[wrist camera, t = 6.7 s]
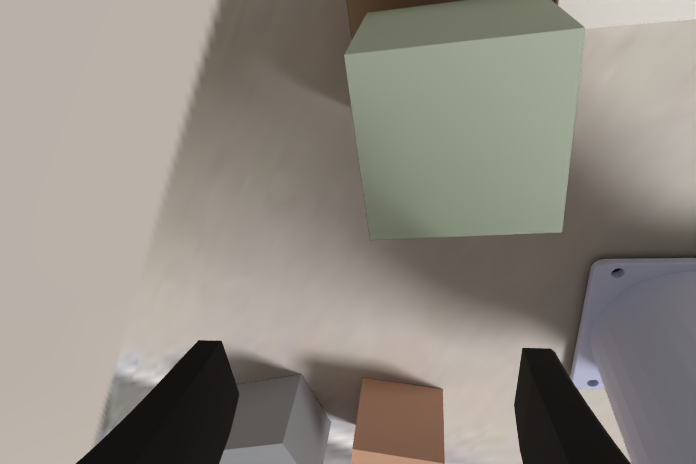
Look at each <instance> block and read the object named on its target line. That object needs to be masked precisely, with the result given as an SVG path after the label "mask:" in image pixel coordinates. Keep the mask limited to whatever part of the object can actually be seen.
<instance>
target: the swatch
mask: <svg viewBox="0 0 696 464" xmlns="http://www.w3.org/2000/svg"><path fill="white" fill-rule="evenodd" d="M556 4H557V5H558V6H559V7H560V8H562V9H563V10H564V11H565V12H567V13H568V14H569V15H570V16H572V17H573V18H574V19H575V20H576V21H578V22H579V23H580V24H581V25H583V26H584V27H585V29H589V28H600V27H611V26H622V25H634V24H645V23H656V22H667V21H678V20H690V19H696V0H557V1H556Z"/></svg>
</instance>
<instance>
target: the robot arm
mask: <svg viewBox="0 0 696 464" xmlns="http://www.w3.org/2000/svg"><path fill="white" fill-rule="evenodd" d="M617 268H621V270H619V271H618V272H612V271H613V270H615V269H617ZM593 379H594V380H593ZM577 388H580V389H605V390H606V393H607V396H608V398H609V401H610V404H611V407H612V410H613V412H614V415H615V418H616V421H617V423H618V426H619V429H620V432H621V435H622V437H623V440H624V443H625V446H626V449H627V451H628V454H629V457H630V460H631V462H632V464H696V258H644V259H601V260H598V261H596V262H595V263H594V264H593V265H592V266H591V269H590V274H589V279H588V285H587V290H586V295H585V301H584V306H583V311H582V316H581V322H580V327H579V332H578V338H577V343H576V348H575V353H574V359H573V364H572V369H571V375H570V377H569V375H568V374H567V372H566V370H565V369H564V367H563V365H562V364H561V362H560V360H559V358H558V357H557V355H556V353H555V352H554V351H553V350H552V349H542V348H522V355H521V362H520V369H519V376H518V383H517V390H516V397H515V404H514V407H515V416H516V424H517V432H518V439H519V446H520V452H521V456H522V461H523V464H631V463H630V462H629V461H628V460H627V458H626V457H625V456H624V454H623V453H622V452H621V450H620V449H619V448H618V446H617V445H616V444H615V443H614V441H613V440H612V438H611V437H610V436H609V434H608V433H607V431H606V430H605V429H604V427H603V426H602V425H601V423H600V422H599V420H598V419H597V418H596V416H595V415H594V413H593V412H592V410H591V409H590V407H589V406H588V405H587V403H586V402H585V400H584V399H583V397H582V395H581V394H580V392H579V391H578V389H577ZM238 399H239V391H238V388H237V385H236V382H235V379H234V376H233V373H232V370H231V367H230V364H229V361H228V358H227V355H226V352H225V349H224V347H223V344H222V341H203V340H199V341H198V342H197V343H196V344H195V345H194V346H193V347H192V348H191V349H190V350H189V351H188V352H187V353H186V354H185V355H184V356H183V357H182V359H181V360H180V361H179V362H178V363H177V364H176V365H175V366H174V367H173V368H172V369H171V370H170V371H169V373H168V374H167V375H166V376H165V377H164V378H163V379H162V380H161V381H160V382H159V383H158V384H157V385H156V386H155V388H154V389H153V390H152V391H151V392H150V393H149V394H148V395H147V396H146V397H145V398H144V399H143V400H142V401H141V402H140V403H139V404H138V405H137V406H136V407H135V408H134V409H133V410H132V411H131V412H130V413H129V414H128V415H127V416H126V417H125V418H124V419H123V420H122V421H121V422H120V423H119V424H118V425H117V426H116V427H115V428H114V429H113V430H112V431H111V432H110V433H109V434H108V435H107V436H106V437H105V438H104V439H102V440H101V441H100V442H99V443H98V444H97V445H96V446H95V447H94V448H93V449H92V450H91V451H90V452H88V453H87V454H86V455H85V456H84V457H83V458H82V459H81V460H79V461H78V462H77V463H76V464H219V463H220V460H221V457H222V455H223V452H224V449H225V447H226V444H227V441H228V438H229V435H230V432H231V428H232V424H233V420H234V416H235V412H236V407H237V403H238Z"/></svg>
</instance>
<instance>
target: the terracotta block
mask: <svg viewBox="0 0 696 464" xmlns="http://www.w3.org/2000/svg"><path fill="white" fill-rule="evenodd" d="M351 464H445V458H444V419H443V389H438V388H431V387H424V386H417V385H410V384H403V383H396V382H389V381H382V380H375V379H368V378H363V379H362V386H361V393H360V400H359V407H358V414H357V421H356V428H355V435H354V442H353V449H352V460H351Z"/></svg>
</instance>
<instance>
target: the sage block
mask: <svg viewBox="0 0 696 464" xmlns="http://www.w3.org/2000/svg"><path fill="white" fill-rule="evenodd" d="M584 34H585V27H584V26H583V25H581V24H580V23H579V22H578V21H576V20H575V19H574V18H573V17H572V16H570V15H569V14H568V13H567V12H565V11H564V10H563V9H562V8H560V7H559V6H558V5H557V4H556V3H554V2H553V1H552V0H463V1H455V2H447V3H439V4H431V5H423V6H416V7H408V8H400V9H392V10H384V11H377V12H369V13H367V14H366V16H365V17H364V19H363V21H362V23H361V25H360V27H359V28H358V30H357V32H356V34H355V36H354V37H353V39H352V41H351V43H350V45H349V47H348V48H347V50H346V52H345V54H344V59H345V66H346V73H347V80H348V87H349V94H350V102H351V109H352V116H353V123H354V130H355V137H356V144H357V151H358V159H359V166H360V173H361V180H362V187H363V194H364V201H365V208H366V215H367V223H368V230H369V237H370V240H385V239H411V238H436V237H461V236H487V235H512V234H537V233H562V229H563V220H564V212H565V203H566V194H567V185H568V176H569V167H570V158H571V149H572V141H573V132H574V123H575V114H576V105H577V96H578V87H579V78H580V70H581V61H582V52H583V43H584Z"/></svg>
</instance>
